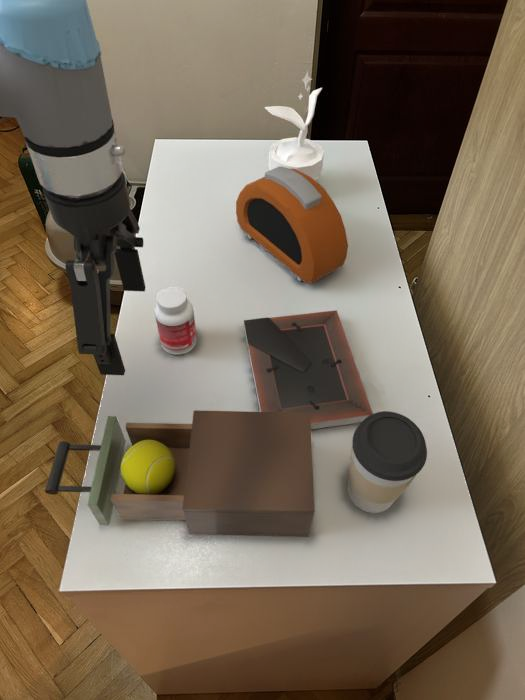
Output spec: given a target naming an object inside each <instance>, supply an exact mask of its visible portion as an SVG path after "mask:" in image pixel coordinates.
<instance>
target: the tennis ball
mask: <svg viewBox="0 0 525 700" xmlns="http://www.w3.org/2000/svg"><path fill="white" fill-rule="evenodd" d="M175 470H176V461H175V458H174V456H173V454H172V452H171V451H170V450H169V448H168V447H166V446H165V445H164V444H162V443H160V442H158V441H155V440H142V441H140V442H138V443H136V444H134V445H133V446H132V445H131V446H130V447H129V448H128V449H127V450H126V451H125V453H124V454H123V458H122V462H121V466H120V475H121V478H122V481H123V482H124V484H126V485H127V486H128V487H129V488H130V489H131V490H133V491H134V492H136V493H138V494H141V495H154V494H157V493H159V492H161V491H162V490H164V489H165V488H166V487H167V486H168V485H169V484H170V482H171V481H172V479H173V477H174V474H175Z"/></svg>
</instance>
